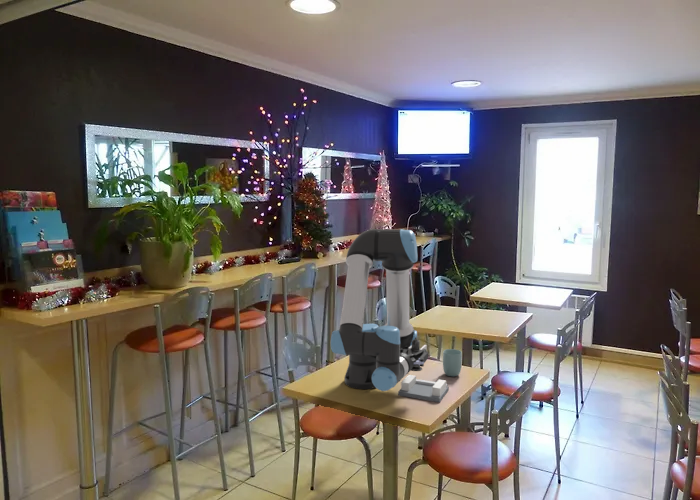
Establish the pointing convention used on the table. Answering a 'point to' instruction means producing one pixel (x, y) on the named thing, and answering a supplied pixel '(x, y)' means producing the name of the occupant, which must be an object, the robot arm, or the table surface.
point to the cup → (452, 362)
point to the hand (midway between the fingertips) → (420, 347)
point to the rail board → (423, 389)
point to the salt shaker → (414, 350)
